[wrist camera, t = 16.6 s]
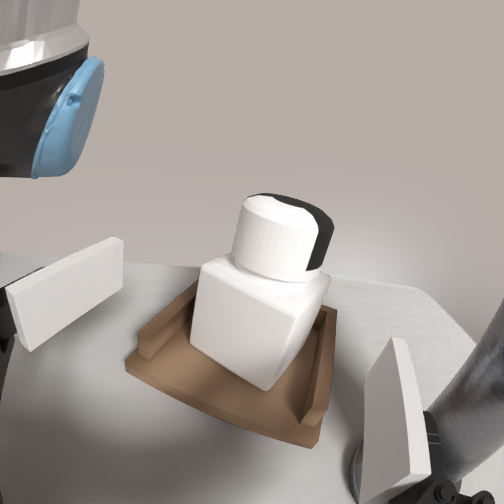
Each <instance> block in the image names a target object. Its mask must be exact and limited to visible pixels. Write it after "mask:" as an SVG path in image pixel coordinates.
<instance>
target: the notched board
mask: <svg viewBox="0 0 504 504" xmlns="http://www.w3.org/2000/svg"><path fill="white" fill-rule="evenodd" d="M197 285H198V280H197V281H196V282H194V283H193V284H192V285H191V286H190V287H189V288H187V289H186V290H185V291H184V292H183V293H182V294H181V295H179V296H178V297H177V298H176V299H175V300H174V301H173V302H172V303H170V304H169V305H168V306H167V307H166V308H165V309H164V310H162V311H161V312H160V313H159V314H158V315H157V316H156V317H155V318H153V319H152V320H151V321H150V322H149V323H148V324H147V325H146V326H144V327H143V328H142V329H141V330H140V331H139V332H138V348H137V349H136V350H135V351H134V352H133V353H132V354H131V355H130V356H129V357H128V358H127V359H126V360H125V367H126V372H128V373H130V374H131V375H133V376H135V377H136V378H138V379H140V380H142V381H143V382H145V383H147V384H149V385H151V386H152V387H154V388H156V389H158V390H160V391H162V392H164V393H166V394H167V395H169V396H171V397H173V398H175V399H177V400H179V401H181V402H183V403H186V404H188V405H190V406H192V407H194V408H196V409H198V410H201V411H203V412H205V413H207V414H210V415H212V416H214V417H217V418H219V419H222V420H224V421H227V422H229V423H232V424H234V425H237V426H239V427H242V428H245V429H248V430H250V431H253V432H256V433H259V434H262V435H265V436H268V437H271V438H274V439H277V440H281V441H284V442H287V443H291V444H294V445H298V446H302V447H306V448H309V449H312V448H313V447H314V445H315V444H316V443H317V442H318V441H319V435H320V429H321V424H322V418H323V415H324V413H325V412H326V411H327V409H328V403H329V396H330V388H331V379H332V370H333V360H334V348H335V336H336V321H337V310H336V309H333V308H330V307H327V306H324V305H321V307H320V309H319V312H318V314H317V317H316V319H315V321H314V324H313V326H312V328H311V330H310V333H309V335H308V337H307V339H306V342H305V344H304V346H303V347H302V348H301V350H300V351H299V352H298V354H297V355H296V356H295V358H294V359H293V360H292V362H291V363H290V364H289V365H288V367H287V368H286V369H285V371H284V372H283V373H282V375H281V376H280V377H279V378H278V380H277V381H276V382H275V383H274V385H273V386H272V387H271V388H270V389H269V390H268V391H263V390H261V389H259V388H258V387H256V386H254V385H253V384H251V383H249V382H247V381H246V380H244V379H243V378H241V377H239V376H238V375H236V374H234V373H233V372H231V371H230V370H228V369H226V368H225V367H223V366H222V365H220V364H219V363H217V362H216V361H214V360H213V359H211V358H210V357H208V356H207V355H205V354H204V353H202V352H201V351H199V350H198V349H196V348H195V347H193V346H192V345H191V344H190V333H191V326H192V319H193V312H194V305H195V298H196V292H197Z"/></svg>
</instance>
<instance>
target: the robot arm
mask: <svg viewBox="0 0 504 504" xmlns="http://www.w3.org/2000/svg"><path fill="white" fill-rule="evenodd" d="M79 4H80V0H0V177H21V178H32V179H37V178H38V177H53V176H61V175H65V174H66V173H68V172H69V171H70V170H71V169H72V168H73V167H74V166H75V164H76V163H77V161H78V159H79V157H80V155H81V153H82V150H83V148H84V145H85V142H86V139H87V137H88V134H89V130H90V128H91V124H92V121H93V118H94V114H95V111H96V107H97V104H98V100H99V96H100V92H101V88H102V83H103V78H104V62H103V61H102V60H101V59H97V58H96V57H95V56H94V57H93V56H92V57H89V58H88V57H87V51H88V45H89V38H90V36H89V34H88V33H87V32H86V31H85V30H84V29H82V28H81V27H80V26H79V25H78V23H77V21H76V19H77V14H78V9H79ZM123 242H124V241H123V240H120V239H118V238H115V237H111V238H108V239H106V240H103V241H101V242H99V243H96V244H94V245H92V246H90V247H87V248H85V249H83V250H81V251H78V252H76V253H74V254H72V255H70V256H67V257H65V258H63V259H61V260H59V261H57V262H55V263H52V264H50V265H48V266H46V267H42V268H39V269H37V270H35V271H33V273H29V274H27V275H26V276H23V277H21V278H19V279H17V280H16V281H14V282H12V283H10V284H8V285H6V286H4V287H2V288H0V400H1V395H2V389H3V384H4V380H5V375H6V371H7V367H8V363H9V359H10V356H11V352H12V348H13V345H14V340H15V338H14V334H15V333H18V336H19V339H20V342H21V343H22V344H23V346H24V347H25V348H26V349H27V350H28V351H29V352H31V351H33V350H34V349H35V348H37V347H38V346H39V345H41V344H42V343H44V342H45V341H46V340H48V339H49V338H50V337H52V336H53V335H55V334H56V333H57V332H59V331H60V330H62V329H63V328H64V327H66V326H67V325H69V324H70V323H72V322H73V321H74V320H76V319H77V318H79V317H80V316H82V315H83V314H85V313H86V312H87V311H89V310H90V309H92V308H93V307H95V306H96V305H98V304H99V303H101V302H102V301H104V300H105V299H107V298H108V297H110V296H111V295H113V294H114V293H116V292H117V291H119V290H120V289H122V288H123ZM437 435H438V430H437V425H436V422H435V420H434V418H433V416H432V414H431V413H430V412H427V411H423V410H422V405H421V400H420V395H419V390H418V385H417V381H416V377H415V372H414V368H413V364H412V360H411V357H410V353H409V349H408V345H407V342H406V340H403V339H400V338H396V337H393V336H391V338H390V340H389V342H388V343H387V345H386V347H385V348H384V350H383V351H382V353H381V355H380V356H379V358H378V359H377V361H376V363H375V364H374V366H373V367H372V369H371V370H370V372H369V373H368V375H367V376H366V378H365V379H364V447H363V465H362V477H361V488H360V497H359V504H384V503H386V502H388V504H495V501H494V498H493V496H492V494H491V493H489V492H488V491H484V490H483V491H480V492H478V493H477V494H475V495H474V496H472V497H469V496H465V495H462V494H459V493H457V489H456V487H455V485H454V484H453V483H452V481H450V480H448V479H445V477H444V470H443V461H442V454H441V448H440V445H439V443H440V441H439V436H437ZM0 504H3V500H2V495H1V492H0Z"/></svg>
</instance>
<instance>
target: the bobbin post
mask: <svg viewBox="0 0 504 504" xmlns="http://www.w3.org/2000/svg"><path fill="white" fill-rule="evenodd" d="M426 411H427V412H430V413H431V414H432V416H433V418H434V420H435V422H436V425H437V430H438V435H437V436H439V441H440V443H439V445H440V448H441V454H442V461H443V470H444V477H445V479H448V480H450V481H452V483H453V484H454V485H455V487H456V489H457V493H459V491H460V488H461V482H462V478H463V477H464V476H466V475H467V474H469V473H470V472H471V471H473V470H474V469H475V468H476V467H478V466H479V465H480V464H482V463H483V462H484V461H485V460H486V459H488V458H489V457H490V456H491V455H492V454H494V453H495V452H496V451H497V450H498V449H499V448H500V447H501V446H503V445H504V299H503V301H502V303H501V305H500V307H499V309H498V310H497V312H496V314H495V316H494V318H493V319H492V321H491V323H490V324H489V326H488V328H487V330H486V331H485V333H484V334H483V336H482V338H481V339H480V341H479V343H478V344H477V346H476V347H475V349H474V350H473V352H472V353H471V354H470V356H469V357H468V359H467V360H466V362H465V363H464V364H463V366H462V367H461V369H460V370H459V371H458V373H457V374H456V375H455V377H454V378H453V379H452V380H451V382H450V383H449V384H448V385H447V387H446V388H445V389H444V390H443V392H442V393H441V394H440V395H439V396H438V398H437V399H436V400H435V401H434V402H433V403H432V404H431V406H430V407H429V408H428V409H427V410H426ZM363 447H364V439H363V440H362V441H361V442H360V444H359V445H358V447H357V448H356V450H355V452H354V454H353V456H352V459H351V463H350V469H349V481H350V487H351V491H352V494H353V497H354V500H355V501H356V503H357V504H359V497H360V488H361V477H362V465H363ZM384 504H388V502H386V503H384Z"/></svg>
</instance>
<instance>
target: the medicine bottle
mask: <svg viewBox="0 0 504 504" xmlns="http://www.w3.org/2000/svg"><path fill="white" fill-rule="evenodd" d="M333 231H334V225H333V222H332V220H331V218H329V217H328V216H327V215H326V214H325V213H324V212H323V211H322V210H321V209H319V208H317V207H315V206H313V205H311V204H309V203H306V202H304V201H301V200H298V199H294V198H290V197H287V196H282V195H277V194H270V193H261V194H256V195H252V196H249V197H247V198H246V199H245V200H244V201H243V202H242V206H241V211H240V215H239V220H238V224H237V229H236V233H235V238H234V242H233V246H232V252H231V253H229V254H226V255H224V256H221V257H219V258H217V259H214V260H211V261H209V262H206V263H204V264H202V265H201V267H200V273H199V279H198V285H197V292H196V298H195V305H194V312H193V319H192V326H191V333H190V344H191V345H192V346H193V347H195V348H196V349H198V350H199V351H201V352H202V353H204V354H205V355H207V356H208V357H210V358H211V359H213V360H214V361H216V362H217V363H219V364H220V365H222V366H223V367H225V368H226V369H228V370H230V371H231V372H233V373H234V374H236V375H238V376H239V377H241V378H243V379H244V380H246V381H247V382H249V383H251V384H253V385H254V386H256V387H258V388H259V389H261V390H263V391H268V390H269V389H270V388H271V387H272V386H273V385H274V383H275V382H276V381H277V380H278V378H279V377H280V376H281V375H282V373H283V372H284V371H285V369H286V368H287V367H288V365H289V364H290V363H291V362H292V360H293V359H294V358H295V356H296V355H297V354H298V352H299V351H300V350H301V348H302V347H303V346H304V344H305V342H306V339H307V337H308V335H309V333H310V330H311V328H312V326H313V324H314V321H315V319H316V317H317V314H318V312H319V309H320V307H321V305H322V302H323V300H324V297H325V295H326V292H327V290H328V287H329V285H330V282H331V277H330V276H329V275H327V274H325V273H323V272H321V271H320V268H321V266H322V263H323V260H324V257H325V254H326V251H327V248H328V246H329V243H330V240H331V237H332V234H333Z"/></svg>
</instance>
